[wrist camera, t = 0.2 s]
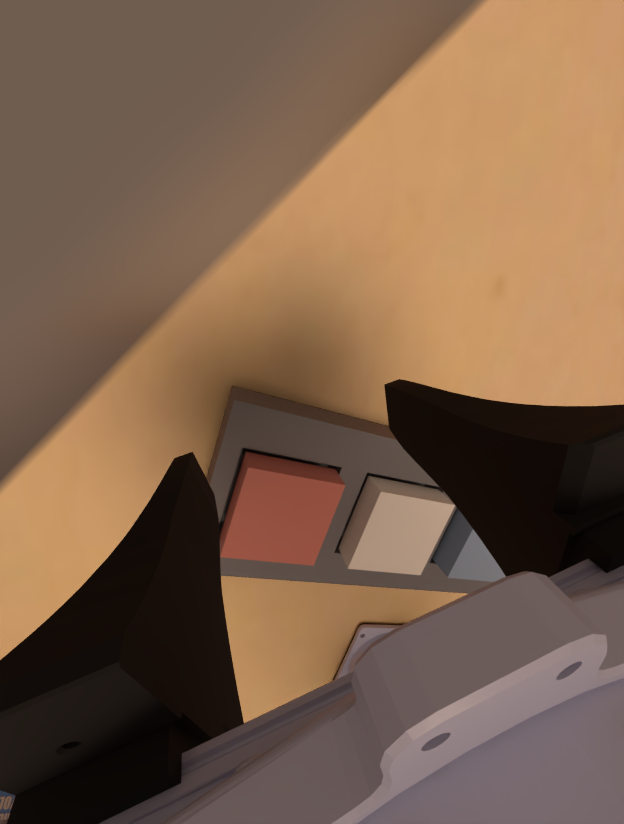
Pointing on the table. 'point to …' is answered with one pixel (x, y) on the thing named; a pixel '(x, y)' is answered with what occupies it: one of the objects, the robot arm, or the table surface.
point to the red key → (280, 510)
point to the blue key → (465, 553)
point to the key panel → (328, 447)
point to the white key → (394, 527)
